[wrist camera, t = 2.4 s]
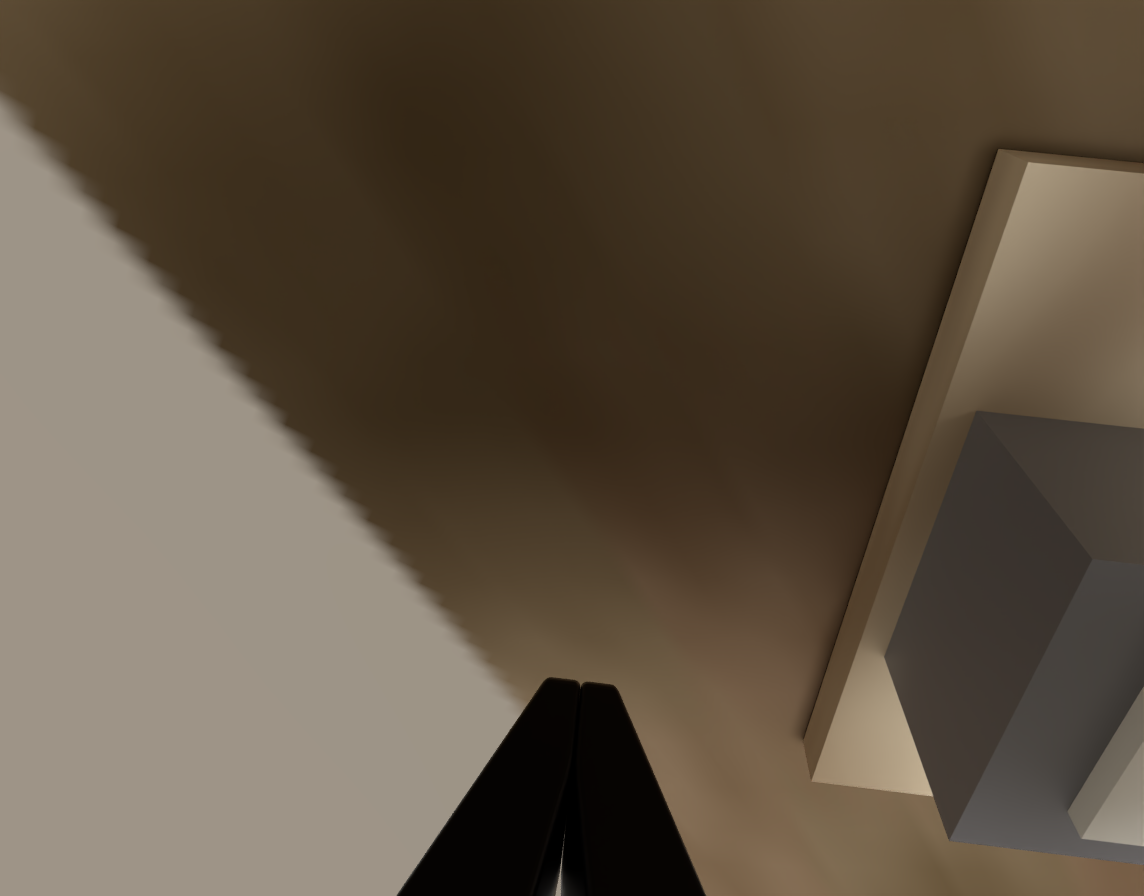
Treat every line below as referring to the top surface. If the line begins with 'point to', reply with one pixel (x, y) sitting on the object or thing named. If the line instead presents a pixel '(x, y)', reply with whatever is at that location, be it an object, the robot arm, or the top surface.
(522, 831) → the robot arm
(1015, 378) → the board
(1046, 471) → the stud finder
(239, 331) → the top surface
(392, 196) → the top surface
